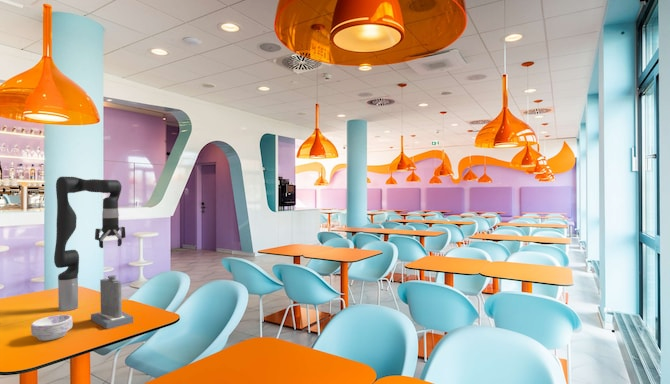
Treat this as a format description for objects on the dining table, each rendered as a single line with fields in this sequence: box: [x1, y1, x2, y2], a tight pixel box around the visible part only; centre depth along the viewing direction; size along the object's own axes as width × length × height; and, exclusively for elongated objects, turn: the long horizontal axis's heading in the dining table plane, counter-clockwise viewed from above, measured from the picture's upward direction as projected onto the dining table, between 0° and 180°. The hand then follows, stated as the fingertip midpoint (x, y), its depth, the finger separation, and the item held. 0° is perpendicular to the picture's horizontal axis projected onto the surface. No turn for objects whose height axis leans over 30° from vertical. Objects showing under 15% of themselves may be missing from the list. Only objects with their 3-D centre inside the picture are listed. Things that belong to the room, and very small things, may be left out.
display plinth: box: [90, 311, 134, 330], centre depth 197 cm, size 22×12×3 cm, turn 50°
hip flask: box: [99, 274, 123, 318], centre depth 197 cm, size 16×4×20 cm, turn 58°
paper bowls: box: [30, 314, 73, 342], centre depth 176 cm, size 15×15×8 cm
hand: (110, 247), depth 208 cm, fingers open, 8 cm apart
